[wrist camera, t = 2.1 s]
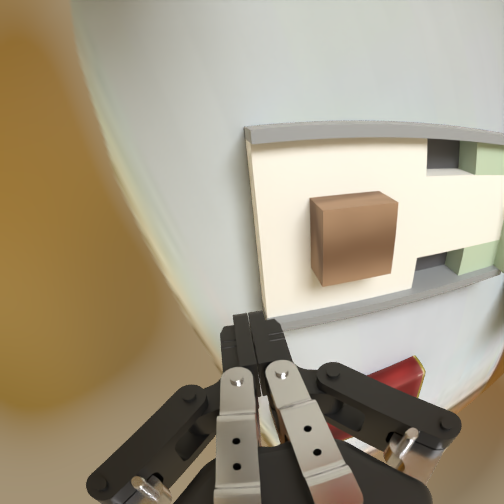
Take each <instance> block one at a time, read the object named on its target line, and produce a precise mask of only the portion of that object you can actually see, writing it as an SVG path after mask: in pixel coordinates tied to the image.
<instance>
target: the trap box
mask: <svg viewBox="0 0 504 504" xmlns="http://www.w3.org/2000/svg"><path fill="white" fill-rule="evenodd" d="M244 131H245V140H246V149H247V158H248V168H249V177H250V187H251V196H252V206H253V215H254V225H255V234H256V244H257V254H258V263H259V273H260V283H261V293H262V303H263V309H264V313H265V317H266V320H270V319H275V320H276V321H277V322H279V323H280V324H281V327H282V330H283V331H288V330H293V329H298V328H304V327H309V326H314V325H319V324H324V323H328V322H333V321H338V320H342V319H347V318H351V317H355V316H360V315H364V314H368V313H372V312H376V311H380V310H384V309H388V308H392V307H396V306H400V305H404V304H407V303H411V302H415V301H418V300H422V299H425V298H429V297H432V296H435V295H439V294H442V293H445V292H449V291H452V290H455V289H458V288H461V287H465V286H468V285H471V284H474V283H477V282H480V281H483V280H486V279H488V278H491V277H494V276H497V275H500V273H501V272H503V273H504V134H503V133H499V132H494V131H487V130H481V129H474V128H466V127H458V126H449V125H439V124H428V123H414V122H395V121H314V122H295V123H280V124H268V125H257V126H247V127H244ZM372 191H380V192H382V193H383V194H385V195H387V196H389V197H390V198H392V199H394V200H395V201H397V202H399V203H398V216H397V227H396V237H395V246H394V254H393V262H392V269H391V274H386V275H382V276H377V277H372V278H367V279H362V280H357V281H352V282H347V283H341V284H336V285H331V286H326V287H322V285H321V284H320V282H319V280H318V279H317V277H316V275H315V274H314V272H313V270H312V269H311V233H310V199H309V198H312V197H321V196H331V195H340V194H350V193H361V192H372Z"/></svg>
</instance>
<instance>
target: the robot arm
mask: <svg viewBox="0 0 504 504" xmlns="http://www.w3.org/2000/svg"><path fill="white" fill-rule="evenodd" d="M248 316H249V321H248ZM248 316H247V313H244V314H237V315H233V321H234V325H232V326H225V327H223V329H222V331H221V333H220V339H221V352H222V365H223V374H222V376H221V378H220V380H219V381H218V382H217V383H215V384H214V385H212V386H209V387H207V388H205V389H203V388H201V387H200V386H197V385H186V386H183V387H181V388H180V389H179V390H178V391H176V393H174V394H173V396H171V398H169V399H168V400H167V401H166V403H165V404H164V405H163V406H162V407H161V408H160V409H159V410H158V411H157V412H156V413H155V414H154V415H153V416H151V418H149V419H148V421H147V422H145V424H143V425H142V427H140V428H139V429H138V430H137V431H136V432H135V433H134V434H133V435H132V436H131V437H130V438H129V439H128V440H127V441H126V442H125V443H124V444H123V445H122V446H121V447H120V448H119V449H118V450H116V451H115V452H114V453H113V454H112V455H111V456H110V457H109V458H108V459H107V460H106V461H105V462H104V463H103V464H102V465H101V466H100V467H98V468H97V469H96V470H95V471H94V472H93V473H92V474H91V475H90V476H89V477H88V479H87V482H86V488H87V491H88V493H89V494H90V496H92V497H93V498H94V499H96V500H98V501H99V502H100V503H101V504H170V503H171V499H172V496H171V492H170V490H169V488H170V487H171V486H172V485H173V484H174V483H175V482H176V481H177V479H178V478H179V477H180V476H181V475H182V474H183V473H184V472H185V470H186V469H187V468H188V467H189V466H190V465H191V464H192V462H193V461H194V460H195V459H196V458H197V457H198V456H199V454H200V453H201V452H202V451H203V449H204V448H205V447H206V446H207V445H208V444H209V442H210V441H211V440H212V439H213V438H214V437H215V435H216V458H215V459H213V460H212V461H210V462H209V463H207V464H206V465H205V466H204V467H203V468H202V469H201V470H200V472H199V473H198V474H197V475H196V477H195V478H194V479H193V480H192V482H191V483H190V484H189V485H188V486H187V488H186V489H185V490H184V491H183V493H182V494H181V495H180V496H179V497H178V499H177V500H176V501H175V502H174V503H173V504H433V502H432V496H431V493H430V491H429V489H428V488H427V486H426V484H427V482H428V480H429V478H430V477H431V475H432V473H433V471H434V469H435V467H436V465H437V463H438V461H439V459H440V457H441V455H442V453H443V452H444V451H445V450H446V449H447V448H448V446H449V445H450V444H451V443H452V442H453V440H454V439H455V438H456V437H457V435H458V434H459V432H460V430H461V420H460V418H459V417H458V416H457V415H456V414H455V413H453V412H450V411H448V410H445V409H443V408H440V407H438V406H435V405H433V404H431V403H428V402H426V401H423V400H421V399H419V398H416V397H414V396H411V395H409V394H407V393H404V392H402V391H400V390H397V389H395V388H393V387H391V386H388V385H386V384H384V383H382V382H379V381H377V380H375V379H373V378H371V377H368V376H366V375H364V374H362V373H360V372H358V371H355V370H353V369H351V368H349V367H347V366H345V365H343V364H340V363H337V362H329V363H326V364H323V365H322V366H321V367H320V368H319V369H318V370H307V369H303V368H300V367H298V366H297V365H295V364H294V362H293V361H292V358H291V355H290V352H289V349H288V346H287V343H286V340H285V336H284V333H283V330H282V327H281V324H280V323H279V322H277V321H276V320H275V319H270V320H265V318H264V314H263V311H256V312H250V313H248ZM249 323H250V326H249ZM250 330H251V331H250ZM258 374H259V376H258ZM259 380H260V383H259ZM260 385H261V390H262V395H263V396H266V395H267V396H268V401H269V408H270V412H271V415H272V418H273V421H274V424H275V427H276V430H277V433H278V437H279V440H280V445H278V446H275V447H262V446H261V435H260V424H259V412H258V409H259V402H258V397H260V396H261V390H260ZM326 422H327V423H329V424H331V425H333V426H334V427H336V428H338V429H340V430H342V431H344V432H346V433H347V434H349V435H351V436H353V437H355V438H357V439H359V440H361V441H363V442H365V443H367V444H369V445H371V446H373V447H375V448H377V449H379V450H381V451H383V452H384V459H385V461H386V463H387V464H389V465H390V466H389V465H387V464H385V463H384V462H382V461H380V460H377V459H376V458H374V457H372V456H371V455H369V454H367V453H365V452H363V451H362V450H360V449H358V448H356V447H354V446H353V445H351V444H349V443H347V442H345V441H342V440H339V439H335V438H333V436H332V434H331V431H330V429H329V427H328V425H327V423H326Z"/></svg>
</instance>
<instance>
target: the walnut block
mask: <svg viewBox="0 0 504 504" xmlns="http://www.w3.org/2000/svg"><path fill="white" fill-rule="evenodd" d="M309 199H310V233H311V269H312V270H313V272H314V274H315V275H316V277H317V279H318V280H319V282H320V284H321V285H322V287H326V286H331V285H336V284H341V283H347V282H352V281H357V280H362V279H367V278H372V277H377V276H382V275H386V274H391V269H392V262H393V254H394V246H395V237H396V227H397V216H398V203H399V202H397V201H395V200H394V199H392V198H390V197H389V196H387V195H385V194H383V193H382V192H380V191H372V192H361V193H350V194H340V195H331V196H321V197H312V198H309Z"/></svg>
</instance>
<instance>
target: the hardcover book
mask: <svg viewBox="0 0 504 504" xmlns="http://www.w3.org/2000/svg"><path fill="white" fill-rule="evenodd" d="M425 373H426V372H425V369H424V367H423V365H422V364H421V362H420V361H419V359H418V358H417V357H416V356H415V355H414V356H412V357H410V358H408V359H405V360H403V361H401V362H399V363H396V364H394V365H392V366H389V367H387V368H384V369H382V370H380V371H377V372H375V373H372V374H369V375H367V376H368V377H371V378H373V379H375V380H377V381H379V382H382V383H384V384H386V385H388V386H391V387H393V388H395V389H397V390H400V391H402V392H404V393H407V394H409V395H411V396H414V397H416V398H418V397H419V393H420V390H421V387H422V383H423V380H424V376H425ZM326 423H327V422H326ZM327 425H328V427H329V429H330V431H331V434H332V436H333V438H335V439H339V440H342V441H344V440H347V439H349V438H352V437H353V436H351V435H349V434H347V433H346V432H344V431H342V430H340V429H338V428H336V427H334V426H333V425H331V424H329V423H327Z"/></svg>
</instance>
